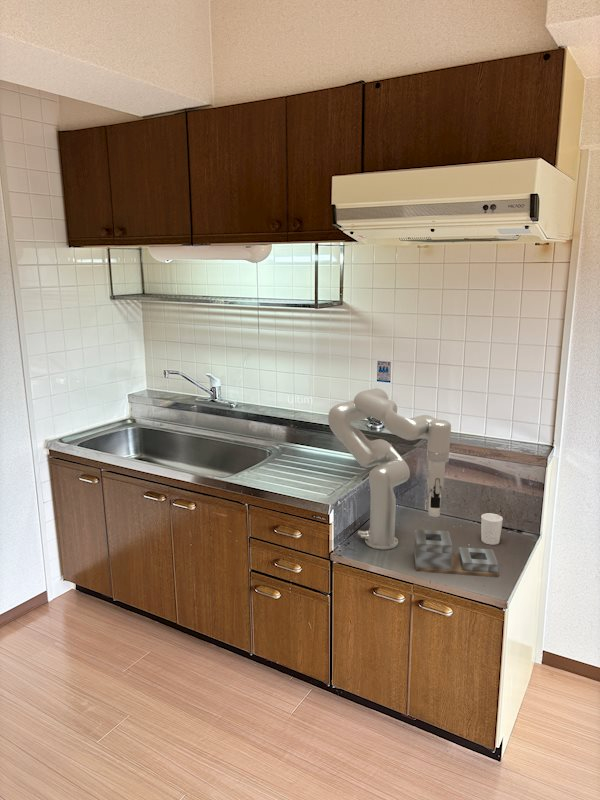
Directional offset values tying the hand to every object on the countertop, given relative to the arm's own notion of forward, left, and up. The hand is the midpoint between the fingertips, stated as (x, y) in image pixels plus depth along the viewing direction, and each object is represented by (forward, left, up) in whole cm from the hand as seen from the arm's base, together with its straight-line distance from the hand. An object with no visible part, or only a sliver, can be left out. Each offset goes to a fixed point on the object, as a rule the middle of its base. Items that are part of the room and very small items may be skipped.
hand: (434, 504), depth 216 cm
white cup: (+24, +22, -22) cm, 40 cm away
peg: (0, 0, -4) cm, 4 cm away
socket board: (+8, 0, -22) cm, 24 cm away
